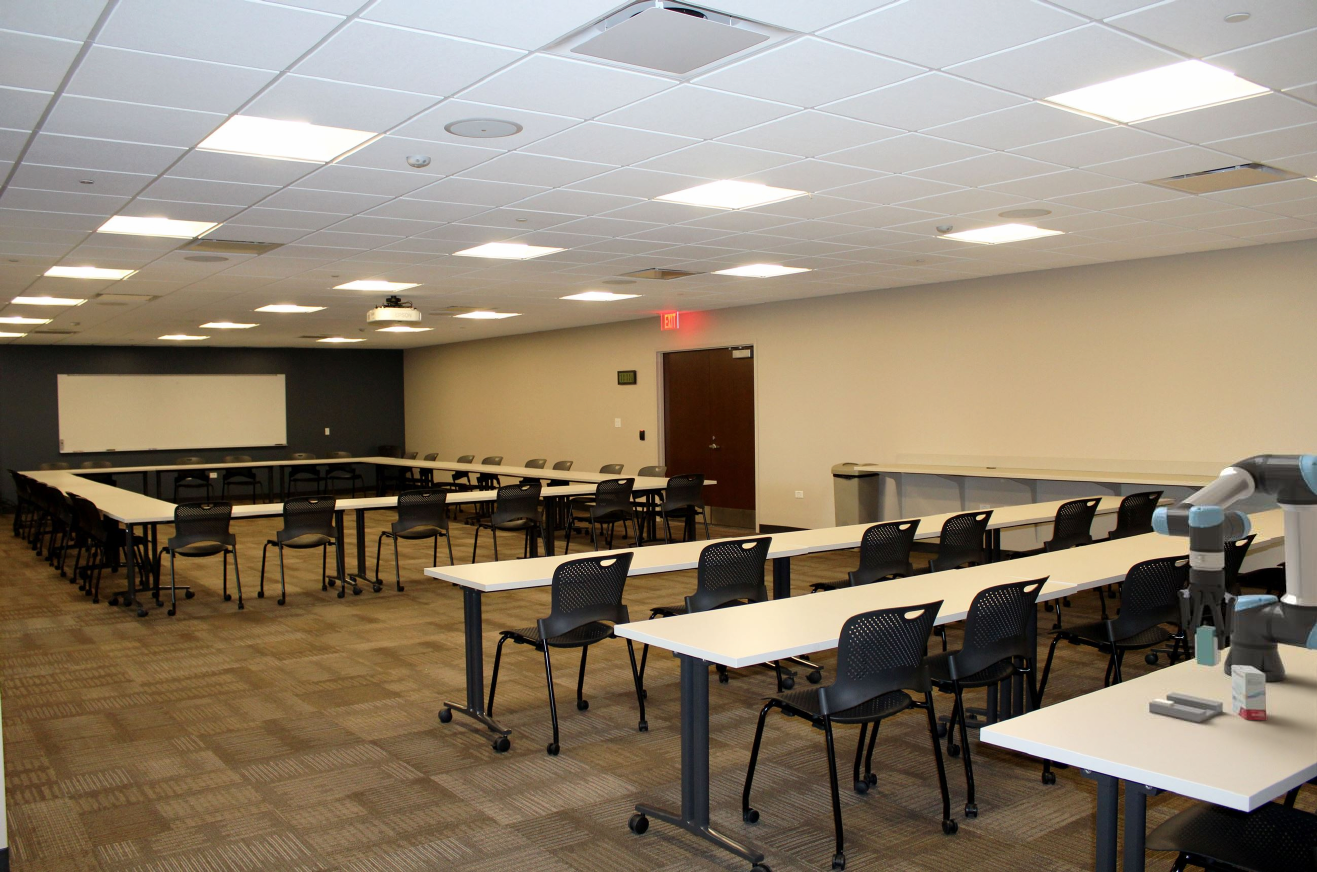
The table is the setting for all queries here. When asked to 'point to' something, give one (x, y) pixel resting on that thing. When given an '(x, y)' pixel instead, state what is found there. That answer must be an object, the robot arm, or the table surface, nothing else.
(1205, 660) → the plug
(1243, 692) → the ink box
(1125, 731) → the table surface
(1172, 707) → the socket
